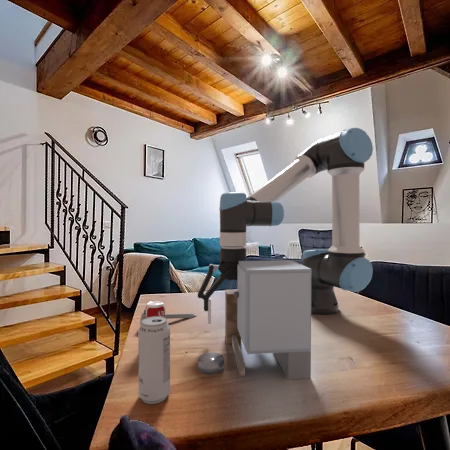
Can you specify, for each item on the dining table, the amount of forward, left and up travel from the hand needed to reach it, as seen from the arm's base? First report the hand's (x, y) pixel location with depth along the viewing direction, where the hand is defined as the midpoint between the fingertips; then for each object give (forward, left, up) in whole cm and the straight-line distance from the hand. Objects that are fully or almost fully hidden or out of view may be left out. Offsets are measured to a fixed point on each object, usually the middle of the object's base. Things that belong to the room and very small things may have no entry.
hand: (232, 321), depth 82 cm
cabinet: (-8, +14, -5) cm, 17 cm away
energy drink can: (+18, +24, -6) cm, 31 cm away
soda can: (+21, +2, -6) cm, 22 cm away
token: (+7, +14, -6) cm, 17 cm away
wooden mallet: (0, +8, -5) cm, 10 cm away
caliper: (+19, -16, -6) cm, 26 cm away
